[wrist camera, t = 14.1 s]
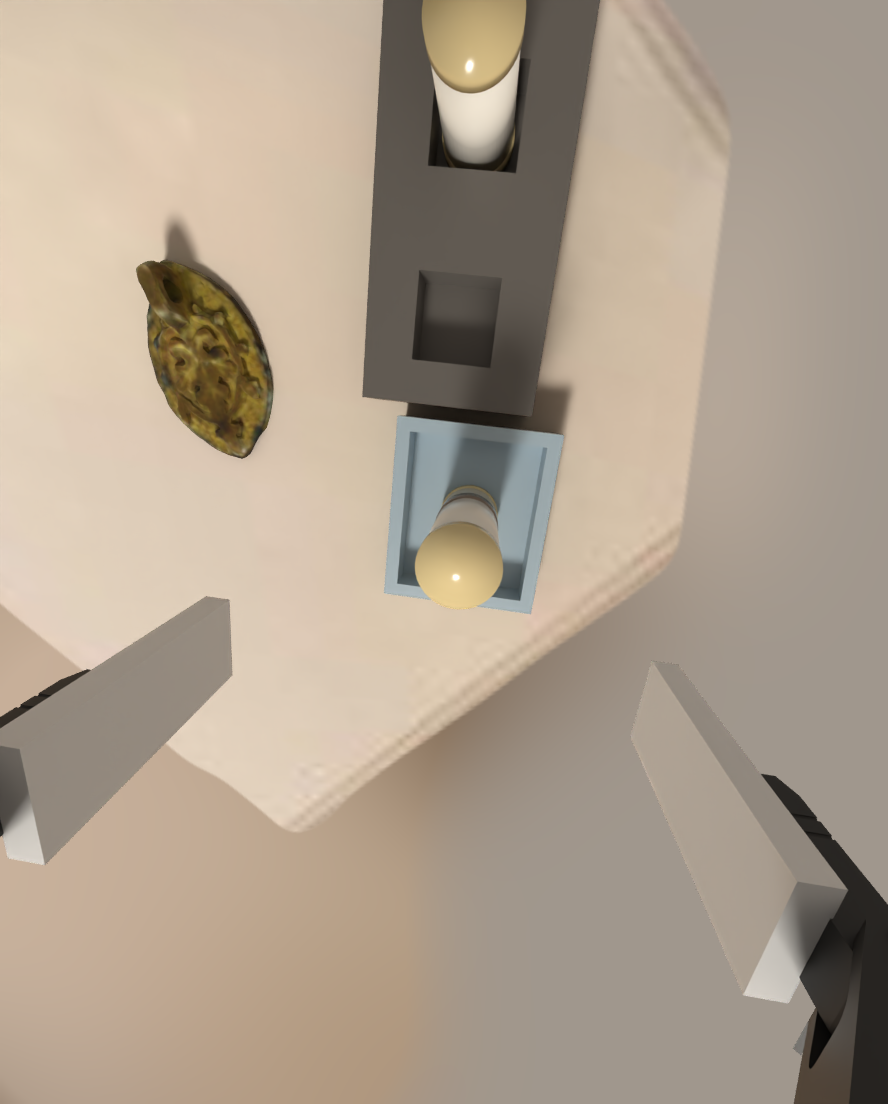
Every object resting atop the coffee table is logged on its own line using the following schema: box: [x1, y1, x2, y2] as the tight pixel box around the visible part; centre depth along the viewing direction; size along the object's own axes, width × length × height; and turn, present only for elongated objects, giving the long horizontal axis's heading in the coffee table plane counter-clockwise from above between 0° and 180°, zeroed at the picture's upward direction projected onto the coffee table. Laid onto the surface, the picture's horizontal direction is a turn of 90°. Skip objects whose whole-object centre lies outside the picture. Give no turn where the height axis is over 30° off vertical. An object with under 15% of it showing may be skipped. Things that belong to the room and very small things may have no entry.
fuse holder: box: [362, 0, 600, 416], centre depth 30 cm, size 22×12×4 cm, turn 174°
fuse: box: [422, 0, 526, 172], centre depth 25 cm, size 5×5×10 cm
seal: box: [136, 260, 273, 459], centre depth 35 cm, size 9×5×15 cm
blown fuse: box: [415, 485, 503, 609], centre depth 30 cm, size 5×5×14 cm
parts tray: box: [384, 416, 564, 614], centre depth 36 cm, size 14×12×3 cm
